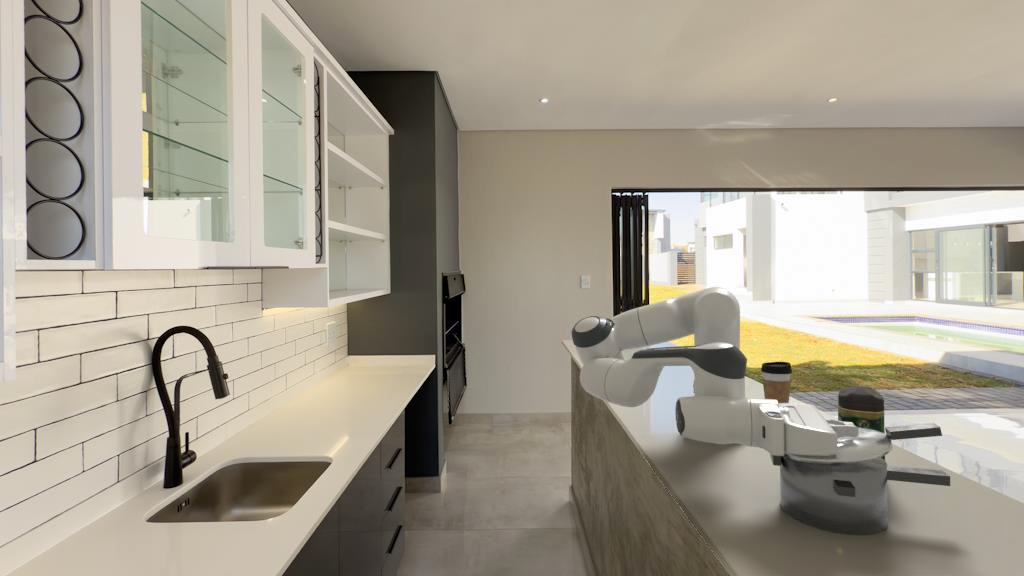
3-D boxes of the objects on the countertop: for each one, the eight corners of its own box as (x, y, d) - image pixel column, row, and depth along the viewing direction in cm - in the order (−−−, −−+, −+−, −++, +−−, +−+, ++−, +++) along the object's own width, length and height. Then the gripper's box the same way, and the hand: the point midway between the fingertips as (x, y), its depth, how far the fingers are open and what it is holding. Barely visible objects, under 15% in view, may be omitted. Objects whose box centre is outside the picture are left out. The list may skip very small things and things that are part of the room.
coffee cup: (798, 415, 150) (797, 365, 150) (769, 416, 150) (769, 365, 150) (783, 408, 159) (783, 360, 158) (756, 408, 159) (755, 361, 159)
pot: (766, 481, 103) (765, 433, 103) (921, 499, 94) (921, 445, 94) (779, 532, 83) (779, 472, 83) (979, 560, 74) (979, 492, 74)
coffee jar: (838, 466, 111) (837, 382, 110) (883, 473, 106) (882, 385, 106) (839, 482, 102) (837, 391, 102) (887, 490, 98) (886, 395, 98)
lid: (775, 437, 101) (772, 426, 101) (920, 423, 92) (917, 411, 92) (787, 468, 85) (784, 454, 85) (964, 455, 76) (960, 440, 76)
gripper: (762, 424, 103) (841, 430, 98) (774, 459, 84) (873, 468, 79) (761, 393, 103) (841, 397, 98) (773, 421, 84) (873, 428, 79)
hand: (856, 429), depth 88 cm, fingers closed
